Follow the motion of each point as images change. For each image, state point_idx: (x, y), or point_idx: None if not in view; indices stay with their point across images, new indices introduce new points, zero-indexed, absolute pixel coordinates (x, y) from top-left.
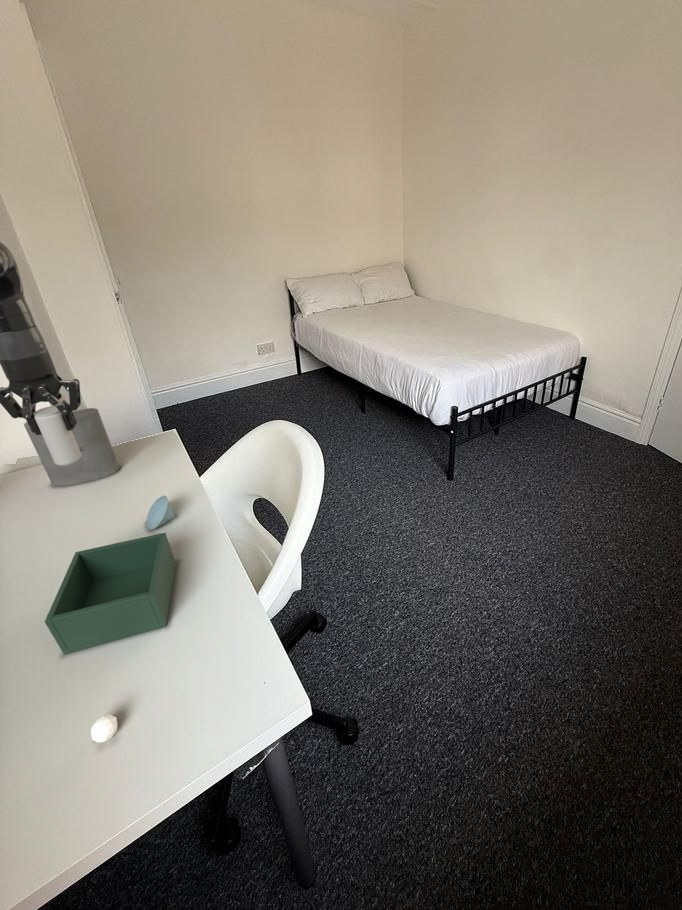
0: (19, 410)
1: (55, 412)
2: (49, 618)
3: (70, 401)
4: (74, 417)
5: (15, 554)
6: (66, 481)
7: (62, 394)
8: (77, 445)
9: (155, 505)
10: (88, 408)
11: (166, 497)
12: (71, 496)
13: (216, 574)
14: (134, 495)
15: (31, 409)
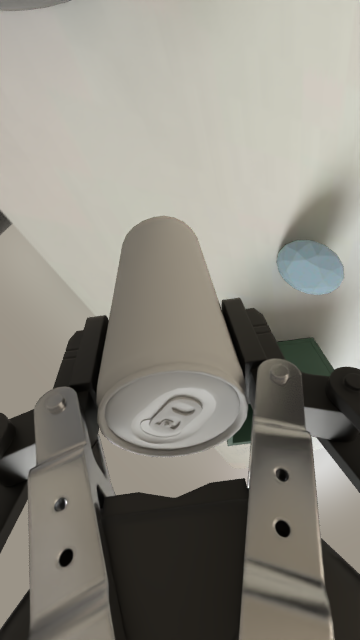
0: (15, 467)
1: (230, 436)
2: (231, 444)
3: (354, 479)
4: (271, 337)
5: (81, 288)
6: (8, 6)
7: (313, 464)
8: (203, 256)
9: (314, 272)
10: None
11: (343, 270)
12: (68, 97)
13: (352, 356)
14: (240, 143)
15: (107, 478)
